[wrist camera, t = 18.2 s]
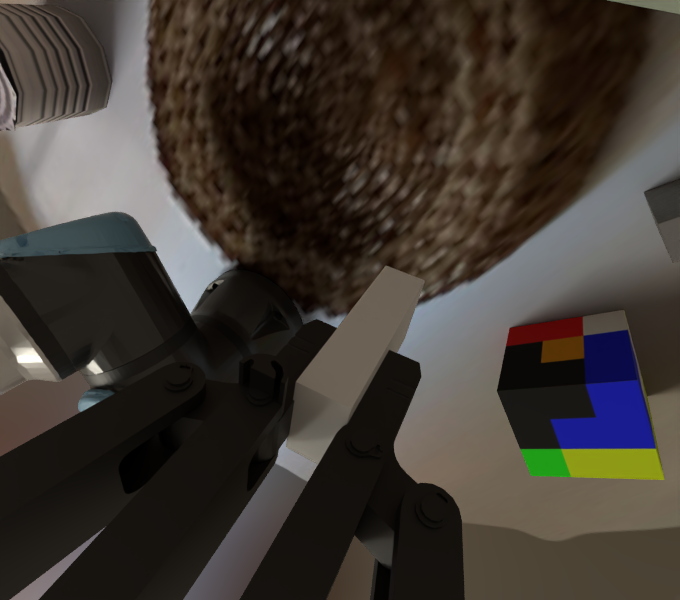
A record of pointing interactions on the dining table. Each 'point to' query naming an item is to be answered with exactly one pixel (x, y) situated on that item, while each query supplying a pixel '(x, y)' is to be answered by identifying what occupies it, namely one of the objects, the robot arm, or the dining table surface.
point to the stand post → (667, 215)
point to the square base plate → (655, 4)
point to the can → (49, 66)
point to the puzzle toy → (579, 399)
